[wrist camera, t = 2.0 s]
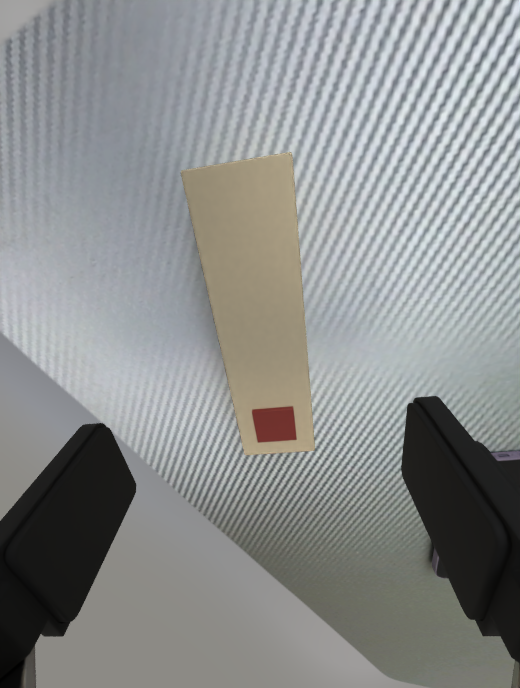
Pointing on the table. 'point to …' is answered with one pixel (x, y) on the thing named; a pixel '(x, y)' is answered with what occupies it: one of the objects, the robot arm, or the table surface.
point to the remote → (256, 295)
